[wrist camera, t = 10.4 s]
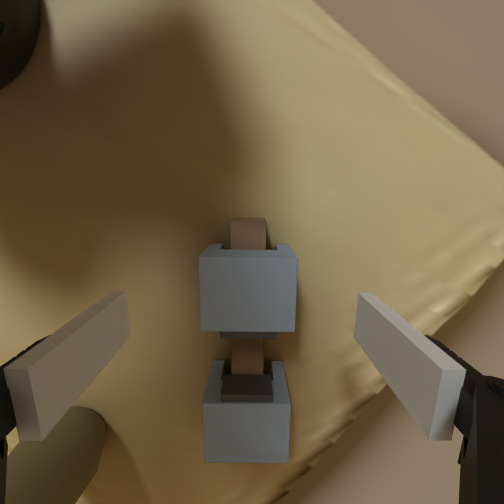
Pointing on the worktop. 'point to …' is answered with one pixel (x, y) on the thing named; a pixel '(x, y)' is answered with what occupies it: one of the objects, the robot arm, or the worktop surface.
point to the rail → (247, 349)
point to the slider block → (246, 416)
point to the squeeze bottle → (57, 461)
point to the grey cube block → (248, 291)
